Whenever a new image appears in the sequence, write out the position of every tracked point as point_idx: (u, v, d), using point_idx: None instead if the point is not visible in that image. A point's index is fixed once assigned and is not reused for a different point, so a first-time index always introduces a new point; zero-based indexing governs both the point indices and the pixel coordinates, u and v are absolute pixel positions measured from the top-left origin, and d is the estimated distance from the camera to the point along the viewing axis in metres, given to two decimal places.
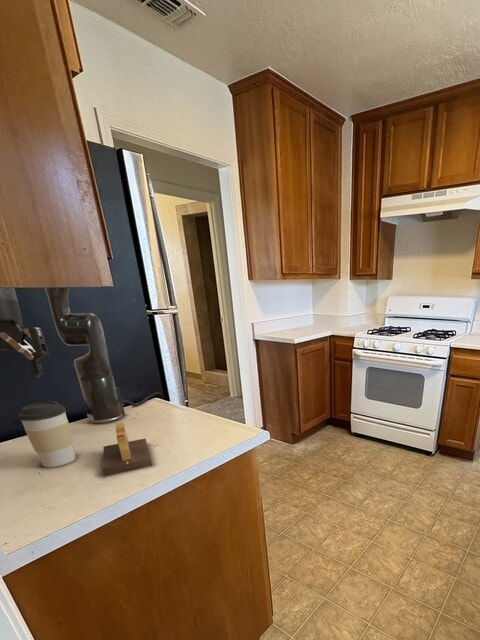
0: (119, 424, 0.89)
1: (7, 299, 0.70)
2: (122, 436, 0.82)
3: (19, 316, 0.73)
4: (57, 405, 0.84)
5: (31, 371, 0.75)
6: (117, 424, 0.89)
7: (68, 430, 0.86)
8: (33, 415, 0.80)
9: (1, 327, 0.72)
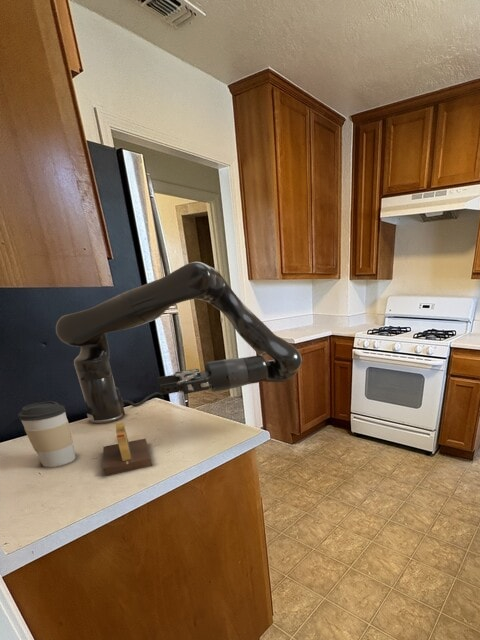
0: (119, 424, 0.89)
1: None
2: (122, 436, 0.82)
3: None
4: (57, 405, 0.84)
5: None
6: (117, 424, 0.89)
7: (68, 430, 0.86)
8: (33, 415, 0.80)
9: None
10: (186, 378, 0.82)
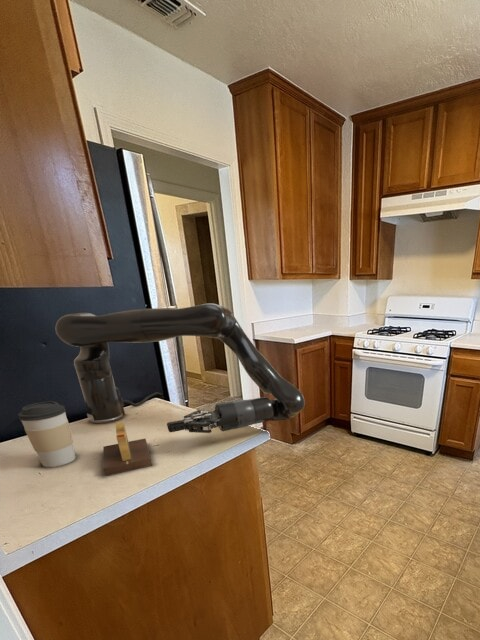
0: (119, 424, 0.89)
1: None
2: (122, 436, 0.82)
3: None
4: (57, 405, 0.84)
5: None
6: (117, 424, 0.89)
7: (68, 430, 0.86)
8: (33, 415, 0.80)
9: None
10: (193, 418, 0.90)
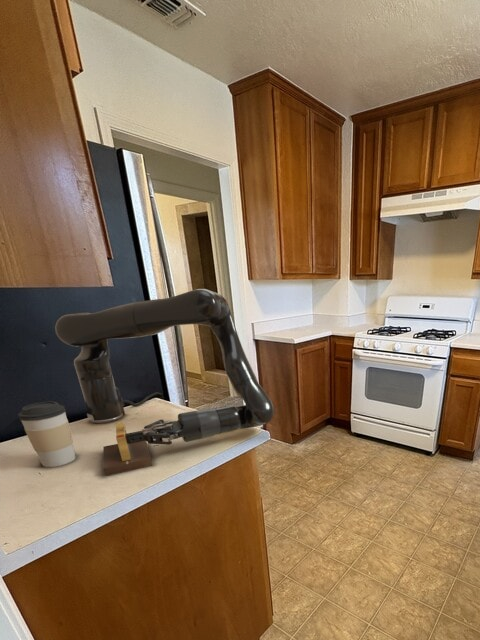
0: (119, 424, 0.89)
1: None
2: (122, 436, 0.82)
3: None
4: (57, 405, 0.84)
5: None
6: (117, 424, 0.89)
7: (68, 430, 0.86)
8: (33, 415, 0.80)
9: None
10: (153, 429, 0.86)
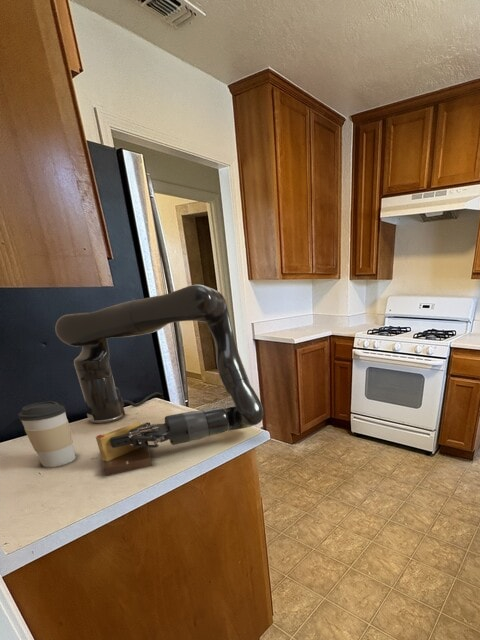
0: (135, 424, 0.89)
1: None
2: (99, 437, 0.81)
3: None
4: (57, 405, 0.84)
5: None
6: (135, 423, 0.90)
7: (68, 430, 0.86)
8: (33, 415, 0.80)
9: None
10: (138, 432, 0.84)
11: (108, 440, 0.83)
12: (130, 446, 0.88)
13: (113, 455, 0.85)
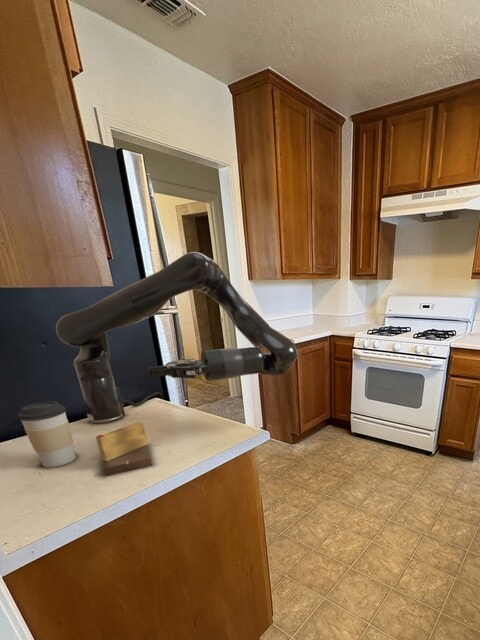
0: (135, 424, 0.89)
1: None
2: (99, 437, 0.81)
3: None
4: (57, 405, 0.84)
5: None
6: (135, 423, 0.90)
7: (68, 430, 0.86)
8: (33, 415, 0.80)
9: None
10: (176, 363, 0.84)
11: (108, 440, 0.83)
12: (130, 446, 0.88)
13: (113, 455, 0.85)
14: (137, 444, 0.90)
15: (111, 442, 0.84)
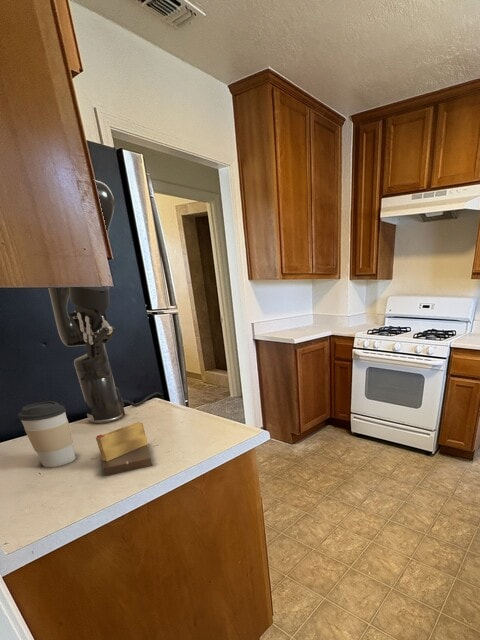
0: (135, 424, 0.89)
1: None
2: (99, 437, 0.81)
3: None
4: (57, 405, 0.84)
5: None
6: (135, 423, 0.90)
7: (68, 430, 0.86)
8: (33, 415, 0.80)
9: None
10: (89, 334, 0.82)
11: (108, 440, 0.83)
12: (130, 446, 0.88)
13: (113, 455, 0.85)
14: (137, 444, 0.90)
15: (111, 442, 0.84)
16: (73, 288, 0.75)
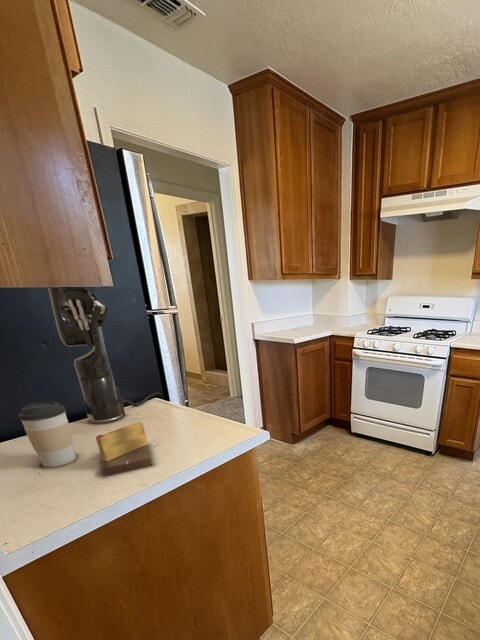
0: (135, 424, 0.89)
1: None
2: (99, 437, 0.81)
3: None
4: (57, 405, 0.84)
5: None
6: (135, 423, 0.90)
7: (68, 430, 0.86)
8: (33, 415, 0.80)
9: None
10: (84, 319, 0.82)
11: (108, 440, 0.83)
12: (130, 446, 0.88)
13: (113, 455, 0.85)
14: (137, 444, 0.90)
15: (111, 442, 0.84)
16: None
